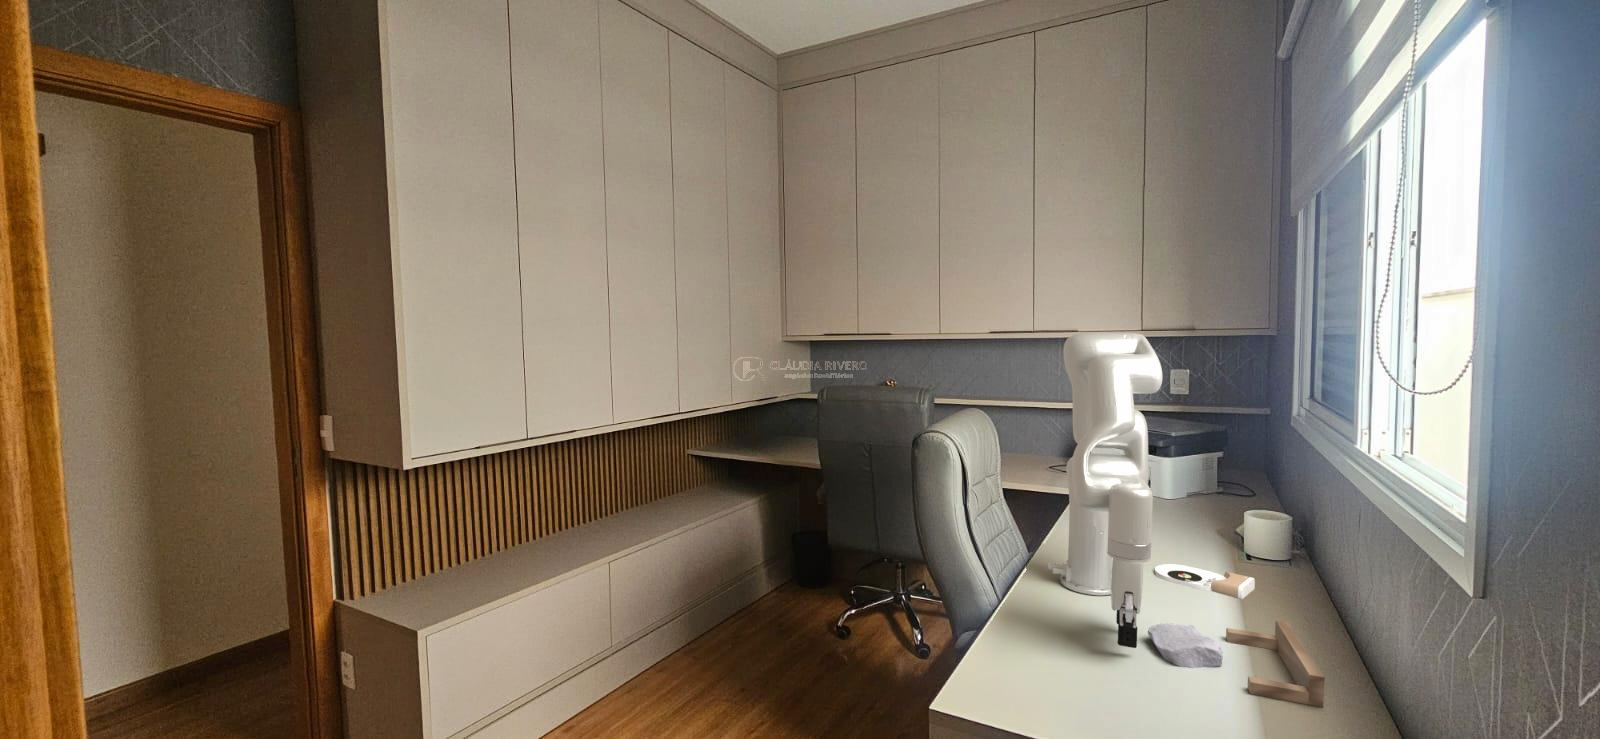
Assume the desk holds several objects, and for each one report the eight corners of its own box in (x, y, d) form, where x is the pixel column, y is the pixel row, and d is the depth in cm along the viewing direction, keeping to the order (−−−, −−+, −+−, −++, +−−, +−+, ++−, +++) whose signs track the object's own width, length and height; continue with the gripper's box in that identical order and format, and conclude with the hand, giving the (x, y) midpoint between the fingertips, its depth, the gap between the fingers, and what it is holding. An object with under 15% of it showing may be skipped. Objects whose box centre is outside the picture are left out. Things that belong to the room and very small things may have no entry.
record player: (1240, 588, 150) (1147, 565, 165) (1240, 602, 150) (1147, 578, 165) (1256, 576, 158) (1165, 555, 173) (1256, 589, 158) (1165, 567, 173)
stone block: (1175, 678, 121) (1229, 667, 121) (1170, 653, 120) (1224, 642, 120) (1141, 649, 132) (1190, 639, 132) (1137, 625, 132) (1186, 615, 132)
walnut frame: (1250, 693, 112) (1251, 664, 112) (1225, 637, 132) (1227, 613, 132) (1323, 707, 108) (1324, 677, 108) (1286, 647, 128) (1288, 622, 128)
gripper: (1107, 533, 138) (1104, 614, 139) (1108, 560, 122) (1105, 651, 123) (1147, 538, 135) (1145, 620, 136) (1154, 566, 119) (1151, 659, 120)
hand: (1126, 635), depth 129 cm, fingers open, 9 cm apart
